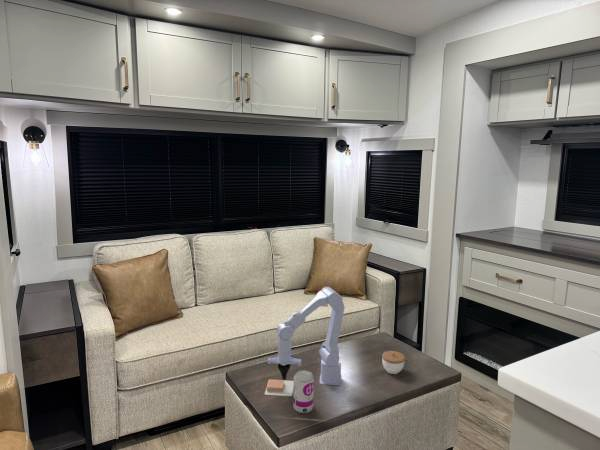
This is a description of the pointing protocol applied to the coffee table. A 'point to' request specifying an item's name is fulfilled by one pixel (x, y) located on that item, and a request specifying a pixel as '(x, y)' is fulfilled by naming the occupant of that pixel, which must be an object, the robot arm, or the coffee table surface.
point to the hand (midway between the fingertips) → (284, 378)
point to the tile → (275, 385)
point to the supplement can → (303, 391)
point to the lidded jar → (393, 361)
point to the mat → (286, 390)
